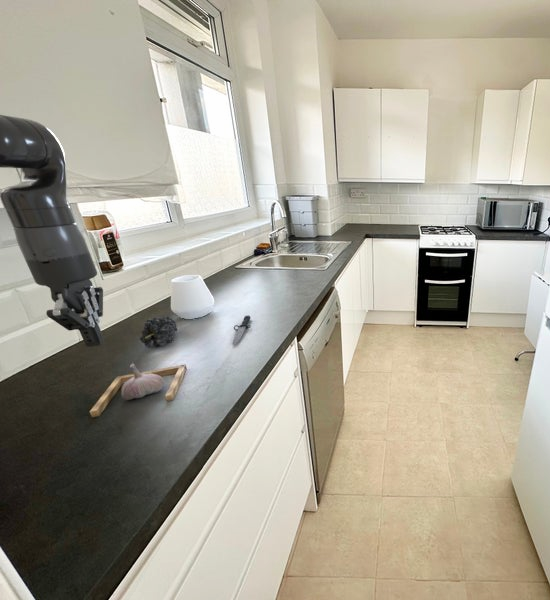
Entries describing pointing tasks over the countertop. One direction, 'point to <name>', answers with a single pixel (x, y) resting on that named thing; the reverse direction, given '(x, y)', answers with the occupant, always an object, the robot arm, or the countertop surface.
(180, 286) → the white tapered hollow cylinder
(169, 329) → the fruit
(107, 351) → the countertop surface
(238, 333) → the knife
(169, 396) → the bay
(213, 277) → the countertop surface
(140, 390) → the garlic bulb
